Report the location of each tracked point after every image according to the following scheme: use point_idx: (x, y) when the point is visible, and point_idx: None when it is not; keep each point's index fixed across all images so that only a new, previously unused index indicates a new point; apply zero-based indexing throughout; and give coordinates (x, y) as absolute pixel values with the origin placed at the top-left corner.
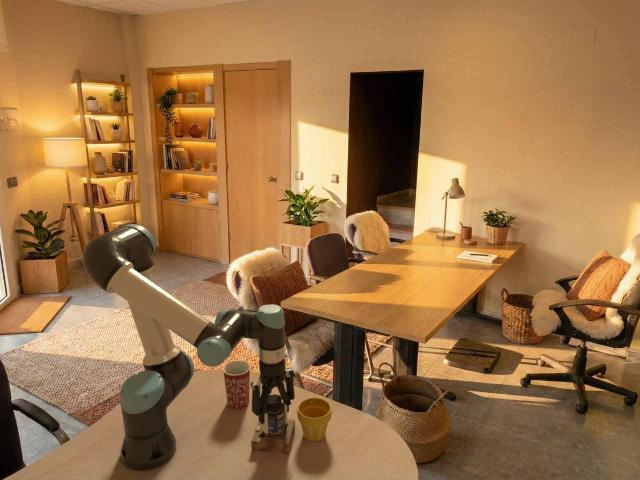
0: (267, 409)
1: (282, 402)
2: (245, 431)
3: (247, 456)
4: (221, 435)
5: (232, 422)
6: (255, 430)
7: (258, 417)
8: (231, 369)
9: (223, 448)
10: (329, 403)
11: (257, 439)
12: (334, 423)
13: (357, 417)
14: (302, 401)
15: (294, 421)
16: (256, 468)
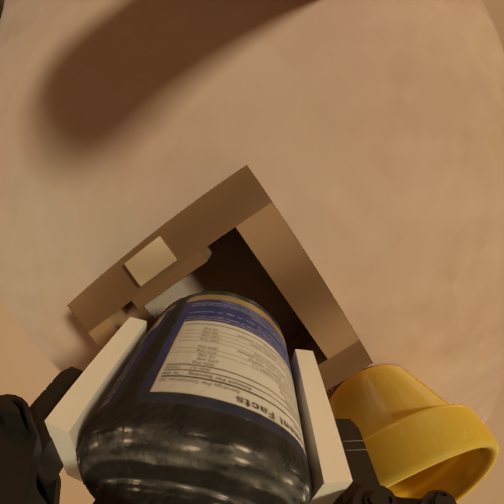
0: (92, 495)
1: (328, 497)
2: (160, 139)
3: (72, 293)
4: (72, 89)
5: (167, 36)
6: (127, 257)
7: (42, 394)
8: None
9: (32, 173)
10: (463, 497)
11: (96, 324)
12: (450, 394)
13: (488, 406)
14: (452, 456)
15: (360, 369)
16: (74, 361)
